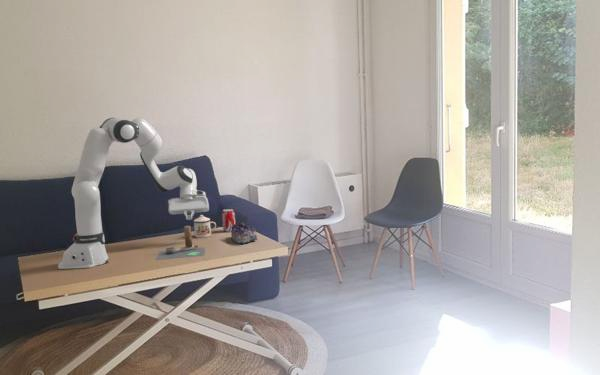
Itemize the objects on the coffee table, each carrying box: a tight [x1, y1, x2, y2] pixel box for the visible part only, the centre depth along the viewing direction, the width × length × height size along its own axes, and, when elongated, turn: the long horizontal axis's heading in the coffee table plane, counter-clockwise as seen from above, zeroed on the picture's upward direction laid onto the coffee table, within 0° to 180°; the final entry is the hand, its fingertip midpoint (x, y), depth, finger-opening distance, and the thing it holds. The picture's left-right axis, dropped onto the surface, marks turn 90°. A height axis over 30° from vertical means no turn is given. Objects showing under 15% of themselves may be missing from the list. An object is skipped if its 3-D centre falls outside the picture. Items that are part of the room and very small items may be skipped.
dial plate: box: [155, 246, 206, 261], centre depth 273 cm, size 22×17×2 cm
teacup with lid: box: [193, 214, 217, 239], centre depth 315 cm, size 12×9×12 cm
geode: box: [230, 220, 258, 245], centre depth 299 cm, size 20×12×10 cm, turn 28°
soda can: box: [221, 208, 236, 233], centre depth 324 cm, size 7×7×12 cm
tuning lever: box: [165, 225, 199, 254], centre depth 276 cm, size 15×4×11 cm, turn 117°
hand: (189, 218), depth 290 cm, fingers closed
